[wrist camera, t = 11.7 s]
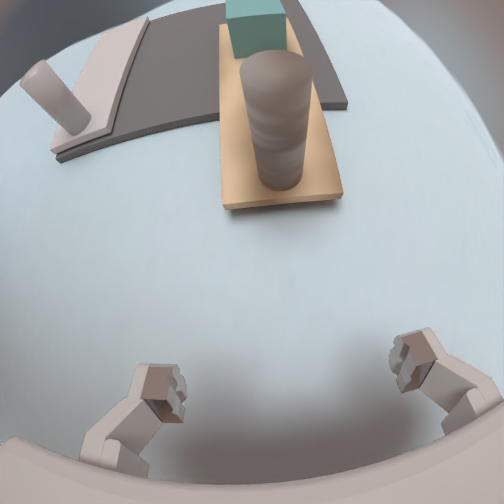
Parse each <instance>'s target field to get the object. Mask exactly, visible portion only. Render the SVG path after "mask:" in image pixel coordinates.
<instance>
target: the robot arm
mask: <svg viewBox="0 0 504 504" xmlns="http://www.w3.org/2000/svg"><path fill="white" fill-rule="evenodd" d="M393 343H394V345H395V346H394V347H393V348H392V349H391V350H390V353H389V365H390V368H391V371H392V372H393V373H394V374H396V375H397V378H396V382H397V385H398V387H399V389H400V392H401V394H402V393H405V392H408V391H411V390H415V389H418V388H419V389H420V390H421V391H422V392H423V393H424V394H426V395H427V396H428V397H429V398H431V399H432V400H433V401H434V402H436V403H437V404H438V405H439V406H440V407H442V408H443V409H444V410H445V411H447V412H448V413H449V414H448V415H447V416H446V417H445V418H444V420H443V421H442V423H441V426H442V428H443V431H444V433H445V436H443V437H441V438H439V439H437V440H435V441H433V442H430V443H428V444H426V445H424V446H421V447H419V448H416V449H414V450H411V451H409V452H406V453H404V454H401V455H398V456H395V457H392V458H389V459H386V460H383V461H380V462H377V463H374V464H370V465H367V466H363V467H360V468H356V469H352V470H348V471H344V472H340V473H335V474H330V475H325V476H320V477H314V478H308V479H302V480H294V481H286V482H277V483H265V484H245V485H213V484H194V483H182V482H172V481H164V480H157V479H150V478H147V476H148V468H149V465H148V463H147V462H146V461H144V460H143V459H141V458H140V457H139V456H138V454H139V453H140V452H141V451H142V449H143V448H144V447H145V446H146V444H147V443H148V442H149V441H150V439H151V438H152V437H153V436H154V434H155V433H156V432H157V430H158V429H159V428H160V427H161V425H162V424H163V423H162V422H164V423H183V422H184V414H185V407H184V406H183V404H182V403H183V402H184V401H185V400H186V398H187V384H186V381H185V378H184V376H182V375H180V374H179V373H180V368H179V367H178V365H177V364H149V363H139V364H138V365H137V367H136V369H135V373H134V376H133V379H132V383H131V386H130V390H129V393H128V397H127V398H123V399H122V400H121V401H120V402H119V403H118V404H117V405H116V406H114V407H113V408H112V409H111V410H110V411H109V412H108V413H107V414H106V415H105V416H104V417H103V418H101V419H100V420H99V421H98V422H97V423H96V424H95V425H94V426H93V427H92V428H91V429H90V430H88V431H87V432H86V435H85V438H84V442H83V445H82V449H81V453H80V456H79V460H78V461H77V460H74V459H71V458H68V457H65V456H63V455H60V454H57V453H55V452H52V451H50V450H47V449H45V448H42V447H40V446H38V445H36V444H33V443H31V442H29V441H27V440H25V439H23V438H21V437H18V436H13V437H11V438H9V439H8V440H6V441H5V442H3V443H2V444H1V445H0V504H504V399H503V397H502V396H501V394H500V392H499V390H498V388H497V386H496V385H495V383H494V381H493V379H492V378H491V377H489V376H488V375H486V374H484V373H483V372H481V371H479V370H477V369H475V368H474V367H472V366H470V365H468V364H467V363H465V362H463V361H461V360H460V359H458V358H456V357H454V356H453V355H449V356H448V354H447V352H446V351H445V349H444V348H443V346H442V344H441V343H440V341H439V340H438V338H437V336H436V335H435V333H434V332H433V330H432V329H431V328H429V327H427V328H424V329H420V330H416V331H412V332H409V333H405V334H401V335H398V336H396V337H395V339H394V342H393Z"/></svg>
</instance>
